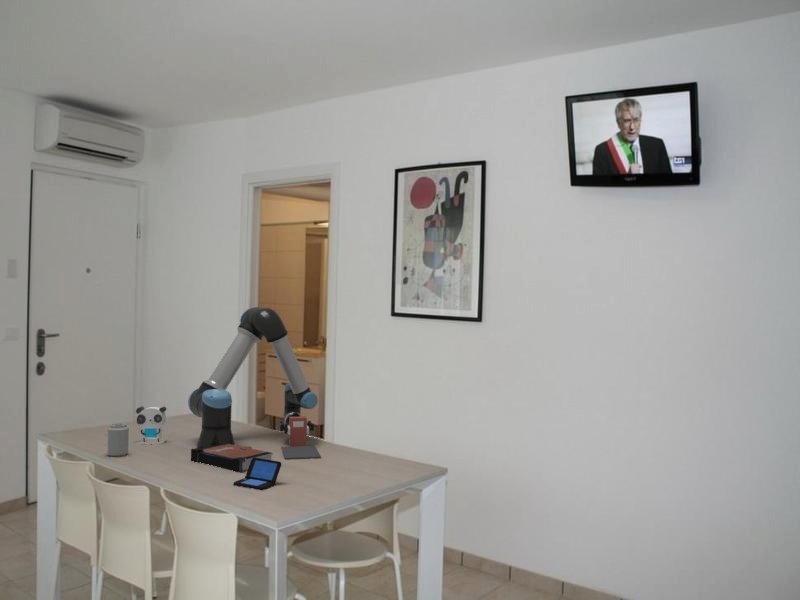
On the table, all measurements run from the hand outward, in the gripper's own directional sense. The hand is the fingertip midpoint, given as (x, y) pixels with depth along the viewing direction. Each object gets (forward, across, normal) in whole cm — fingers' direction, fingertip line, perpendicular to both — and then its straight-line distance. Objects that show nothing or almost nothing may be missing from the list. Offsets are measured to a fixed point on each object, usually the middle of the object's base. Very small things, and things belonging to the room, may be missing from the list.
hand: (298, 431), depth 280 cm
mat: (+8, 0, -7) cm, 11 cm away
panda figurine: (-21, +60, -7) cm, 64 cm away
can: (+1, +70, -7) cm, 70 cm away
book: (+20, +27, -8) cm, 34 cm away
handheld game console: (+51, +18, -8) cm, 55 cm away
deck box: (-5, 0, -7) cm, 9 cm away
